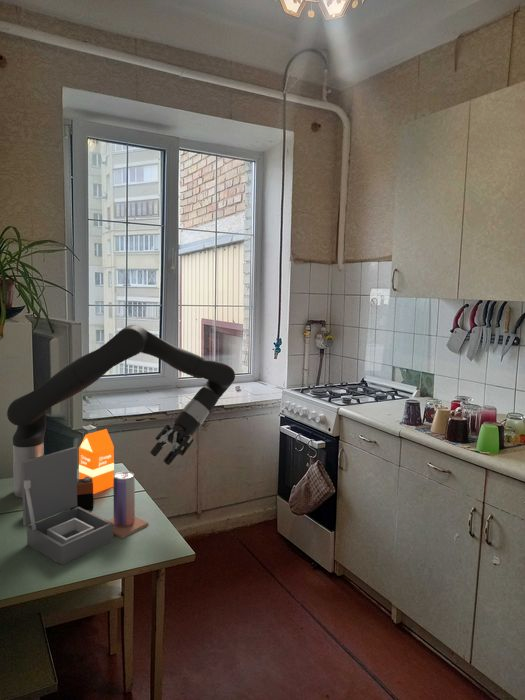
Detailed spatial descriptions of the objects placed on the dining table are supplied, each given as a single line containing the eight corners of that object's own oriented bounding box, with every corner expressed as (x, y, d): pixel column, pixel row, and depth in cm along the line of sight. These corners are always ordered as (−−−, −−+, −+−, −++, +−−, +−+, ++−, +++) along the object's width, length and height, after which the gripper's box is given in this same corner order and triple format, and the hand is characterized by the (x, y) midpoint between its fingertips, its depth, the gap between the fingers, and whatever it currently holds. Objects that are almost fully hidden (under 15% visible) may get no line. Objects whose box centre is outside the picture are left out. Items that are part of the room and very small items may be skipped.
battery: (93, 510, 158) (93, 479, 157) (70, 513, 156) (70, 482, 154) (92, 504, 162) (92, 474, 161) (70, 506, 160) (69, 476, 158)
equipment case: (23, 542, 138) (20, 461, 135) (75, 520, 151) (74, 446, 148) (61, 565, 128) (59, 479, 125) (113, 540, 141) (113, 461, 138)
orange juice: (78, 488, 174) (78, 432, 171) (100, 480, 181) (99, 426, 178) (93, 494, 169) (92, 437, 167) (114, 486, 177) (114, 431, 174)
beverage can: (115, 529, 145) (114, 480, 143) (112, 520, 151) (112, 472, 148) (136, 526, 148) (136, 477, 145) (132, 517, 153) (132, 470, 151)
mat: (99, 527, 148) (99, 524, 148) (126, 515, 156) (126, 512, 156) (121, 538, 142) (121, 535, 142) (148, 525, 150) (148, 522, 150)
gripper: (173, 405, 162) (140, 445, 157) (196, 415, 152) (162, 459, 146) (187, 418, 167) (155, 458, 161) (211, 429, 156) (178, 472, 150)
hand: (158, 458), depth 153 cm, fingers open, 8 cm apart
